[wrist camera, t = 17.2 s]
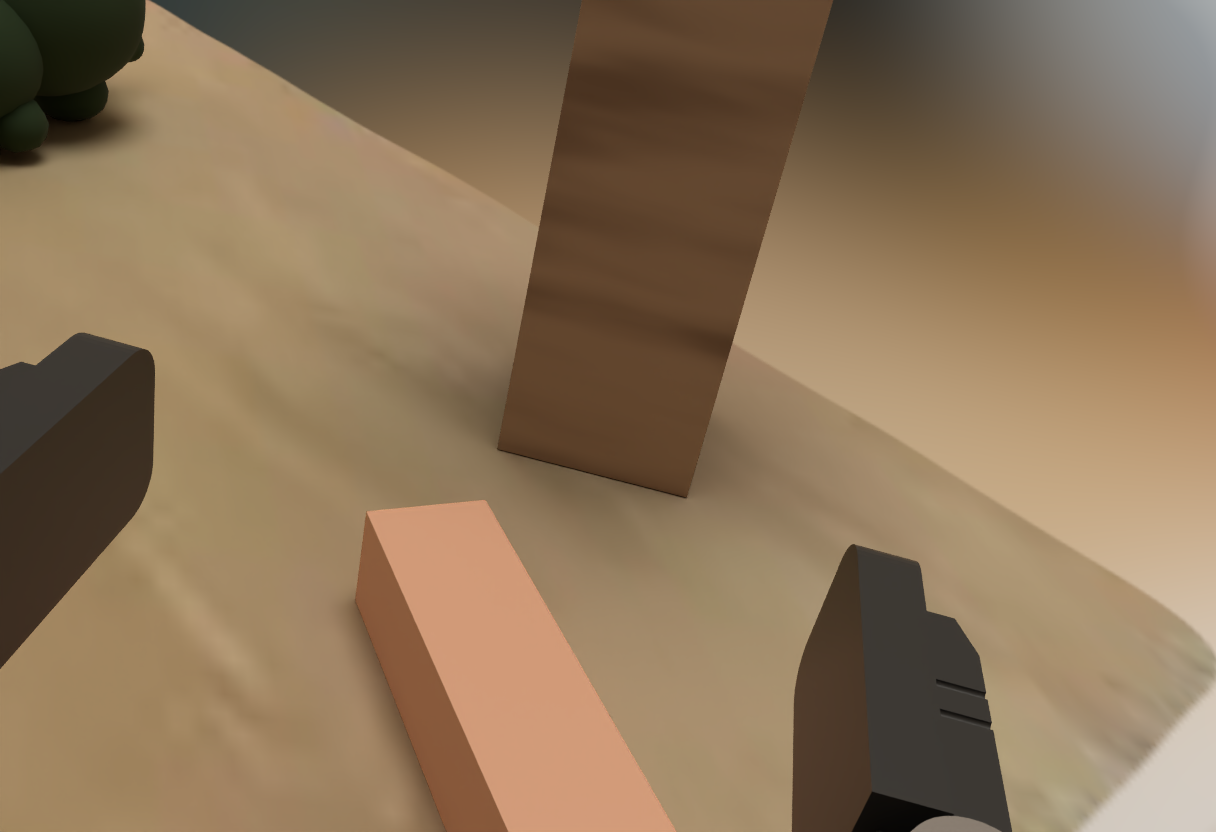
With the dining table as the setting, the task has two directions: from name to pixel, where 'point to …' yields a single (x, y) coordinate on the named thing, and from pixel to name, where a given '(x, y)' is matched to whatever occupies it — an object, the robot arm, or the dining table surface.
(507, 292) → the dining table surface
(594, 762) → the terracotta bar
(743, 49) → the walnut stand
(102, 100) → the toy figurine
